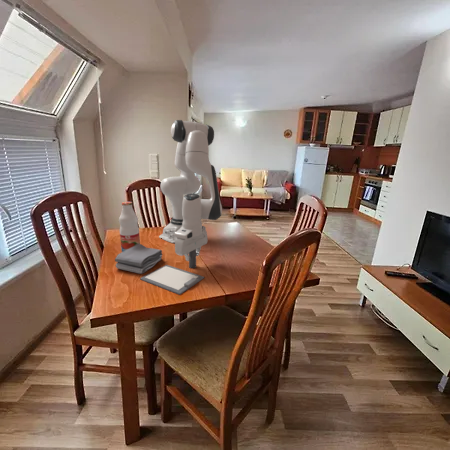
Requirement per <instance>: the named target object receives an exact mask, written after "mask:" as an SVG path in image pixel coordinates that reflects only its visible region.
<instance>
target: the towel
mask: <svg viewBox="0 0 450 450" xmlns="http://www.w3.org/2000/svg"><path fill="white" fill-rule="evenodd" d="M162 257H163V250H161V249H158V248H154V247H153V248H152V247H147V246H145V245H144V244H141V243H140V244H139V243H138V244H136V245H135V246H133V247H131V248H129V249H127V250H126V251H124V252H122V251H121V252H120V253H118V254H117V255H116V257H115V258H114V261H115V262H116V264H115V268H116V269H118V270H123V271H126V272H127V271H128V272H131V273H136V274H141V275H142V274H145V273H146V272H147V271H149V270H150V269H152V268H153V267H154V266H156V264H157V263H158V262H160V261H162V259H163V258H162Z"/></svg>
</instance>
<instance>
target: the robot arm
mask: <svg viewBox="0 0 450 450" xmlns="http://www.w3.org/2000/svg"><path fill="white" fill-rule="evenodd" d="M214 130H215V129H214V127H212V126H211V125H210V124H209V125H208V124H204V123H202V122H198V121H197V122H196V121H189V120H182V119H177V120H176V119H175V120H174V121H173V123H172V125H171V127H170V135H171V139H172V140H173V141H175V142H177V145H176V150H175V155H174V156H175V157H174V167H175V168H176V169H177V170H178V171H180V175H179V176H178V175H177V176H169V177H165V178H163V179H162V180H161V181H160V187H159V188H160V191H161V192H162V194H163V195H164V196H166V197H167V198H168V199H169V201H170V204H171V208H172V210H171V211H172V217H169V221H170V222H169V223H168V224H167V225H166V226H164V227H163V229H162V233H161V234H160V235H159V236H158V238H159V239H161V238H162V239H161V240H164V241H166V242H168V243H172V244H174V252H175V254H176V255H178V256H180V257H181V256H182V257H183V256H184V257H185V261H186V262H189V260H191V259H190V256H189V252H191V251H193V250H195V249H196V257H198V256H200V253H201V249H202V246H205V245H207V244H208V232H207V227H206V226H205V225H203V222H202V220H208V221H209V220H211V221H216V220H218V219H219V218H220V217H222V213H223V206H222V202H221V199H220V192H219V191H220V190H219V185H218V184H219V183H218V179H217V171H216V168H215V166H214V165H213V164H211V162H210V159H209V156H210V155H209V151H210V150H209V146H210V145H212V143H213V142H214V139H215V131H214ZM197 175H198V176H201V177H203V178H205V179H206V180H207V181H208V184H209V191H210V198H201V196H200V195H199V193H198V194H197V193H196V192H198V191H200V188H201V181H200V179H199V178H198V177H197ZM195 242H196V245H195Z"/></svg>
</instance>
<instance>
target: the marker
mask: <svg viewBox="0 0 450 450" xmlns="http://www.w3.org/2000/svg"><path fill="white" fill-rule="evenodd" d="M195 245H196V242H195ZM188 255H189V256H190V259H191V260H189V261H188V267H189V269H195V268H197V256H196V249H195V250H193V251H191V252H189V254H188Z"/></svg>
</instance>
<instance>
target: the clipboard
mask: <svg viewBox="0 0 450 450" xmlns="http://www.w3.org/2000/svg"><path fill="white" fill-rule="evenodd" d="M203 279H205V276H204V275H203V276H202V275H200V274H196V273H194V272H190V271H187V270H184V269H181V268H178V267H174V266H173V265H168V264H165V265H164V266H161V267H159V268H157V269H156V270H154V271H152V272H149V273H148V274H146V275H143V276H142V277H140V278H139V281H140V280H141V281H143V282H145V283H148V284H151V285H153V286H156V287H158V288H161V289H164V290H166V291H169V292H172V293H173V294H176V295H182V294H183V293H185V292H187V291H188V290H189V289H190V288H192V287H194V286H195V285H196V284H199V282H200V281H202V280H203Z"/></svg>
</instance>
